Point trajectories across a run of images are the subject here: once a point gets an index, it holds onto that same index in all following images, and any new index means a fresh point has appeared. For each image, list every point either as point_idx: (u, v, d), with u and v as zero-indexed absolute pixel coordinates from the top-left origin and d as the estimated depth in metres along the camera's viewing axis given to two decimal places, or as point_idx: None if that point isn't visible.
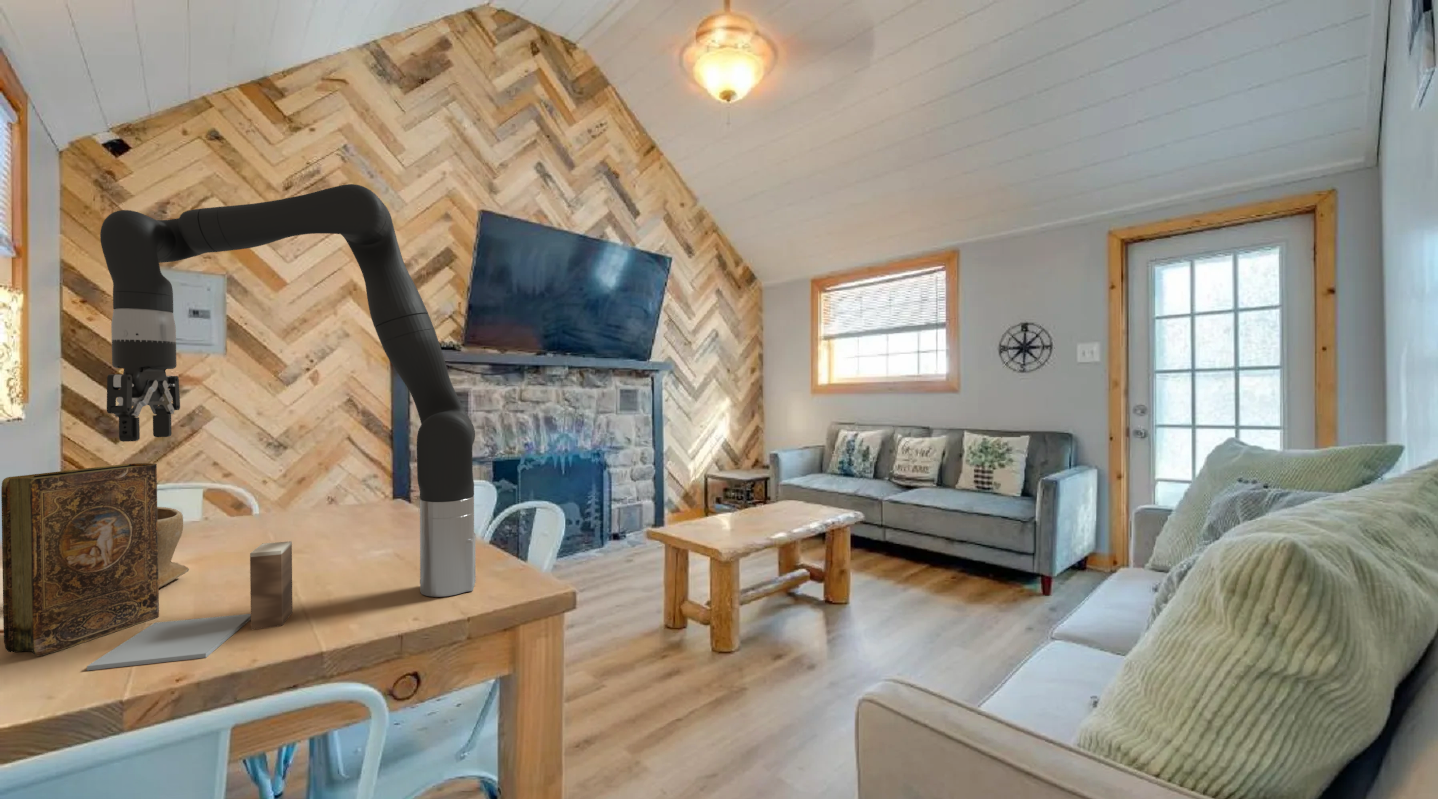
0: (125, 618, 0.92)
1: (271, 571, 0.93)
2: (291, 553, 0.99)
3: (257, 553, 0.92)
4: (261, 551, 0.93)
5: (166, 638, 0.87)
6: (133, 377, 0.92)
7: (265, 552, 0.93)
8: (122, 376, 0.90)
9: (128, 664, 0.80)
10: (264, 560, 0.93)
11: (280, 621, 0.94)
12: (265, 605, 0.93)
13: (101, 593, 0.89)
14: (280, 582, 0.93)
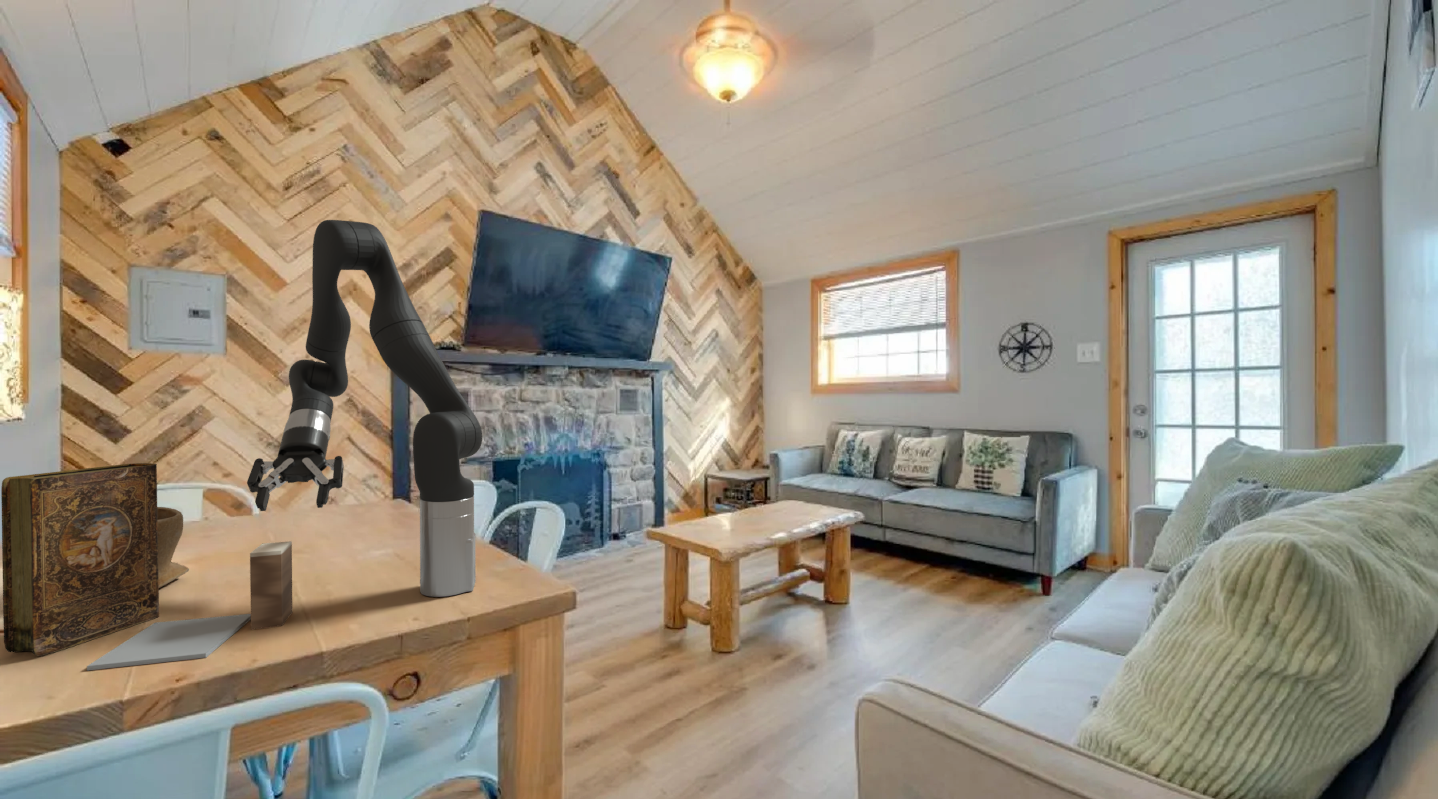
0: (125, 618, 0.92)
1: (271, 571, 0.93)
2: (291, 553, 0.99)
3: (257, 553, 0.92)
4: (261, 551, 0.93)
5: (166, 638, 0.87)
6: (273, 461, 1.10)
7: (265, 552, 0.93)
8: None
9: (128, 664, 0.80)
10: (264, 560, 0.93)
11: (280, 621, 0.94)
12: (265, 605, 0.93)
13: (101, 593, 0.89)
14: (280, 582, 0.93)
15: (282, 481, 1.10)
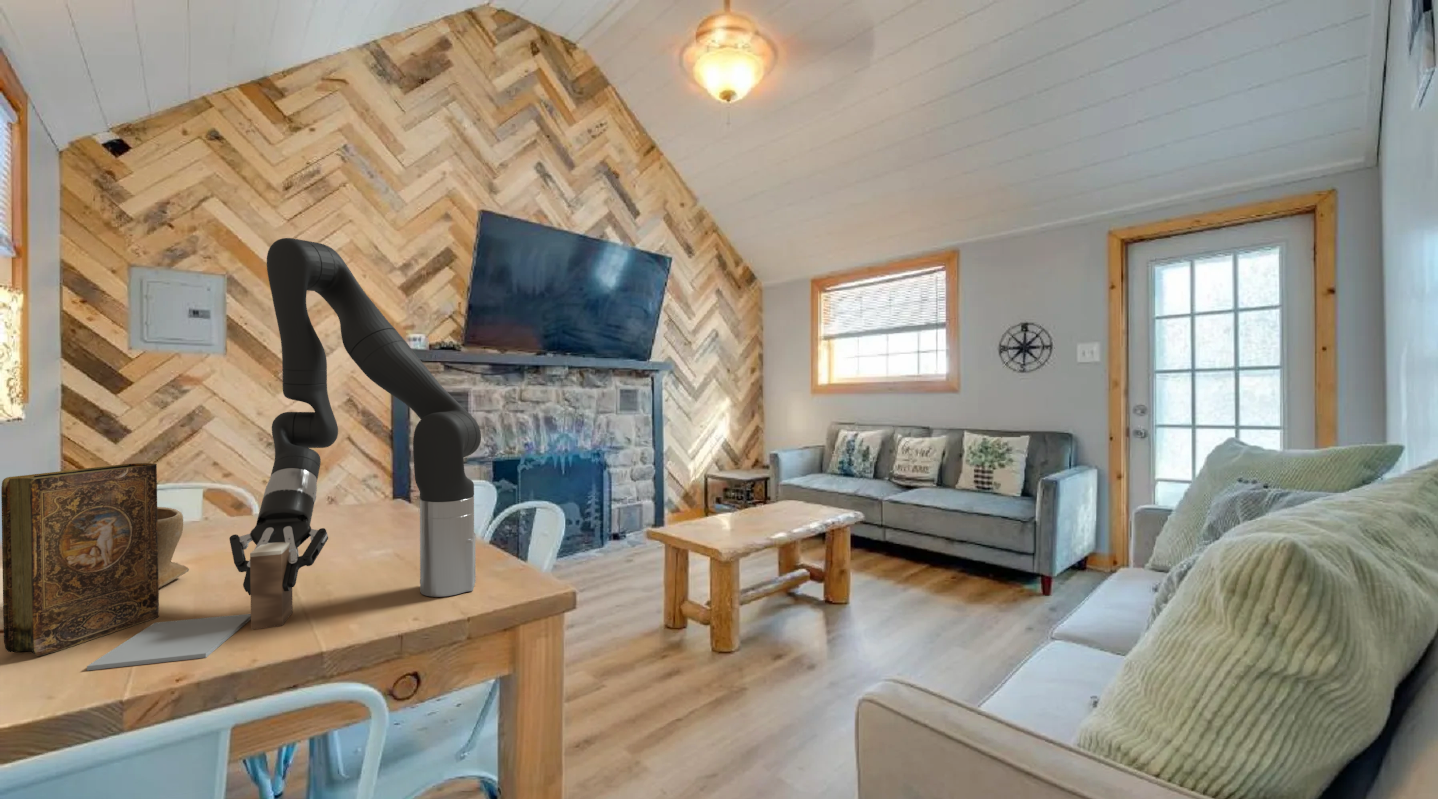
0: (125, 618, 0.92)
1: (271, 571, 0.93)
2: None
3: (257, 553, 0.92)
4: (261, 551, 0.93)
5: (166, 638, 0.87)
6: (250, 533, 0.98)
7: (265, 552, 0.93)
8: None
9: (128, 664, 0.80)
10: (264, 560, 0.93)
11: (280, 621, 0.94)
12: (265, 605, 0.93)
13: (101, 593, 0.89)
14: (280, 582, 0.93)
15: None
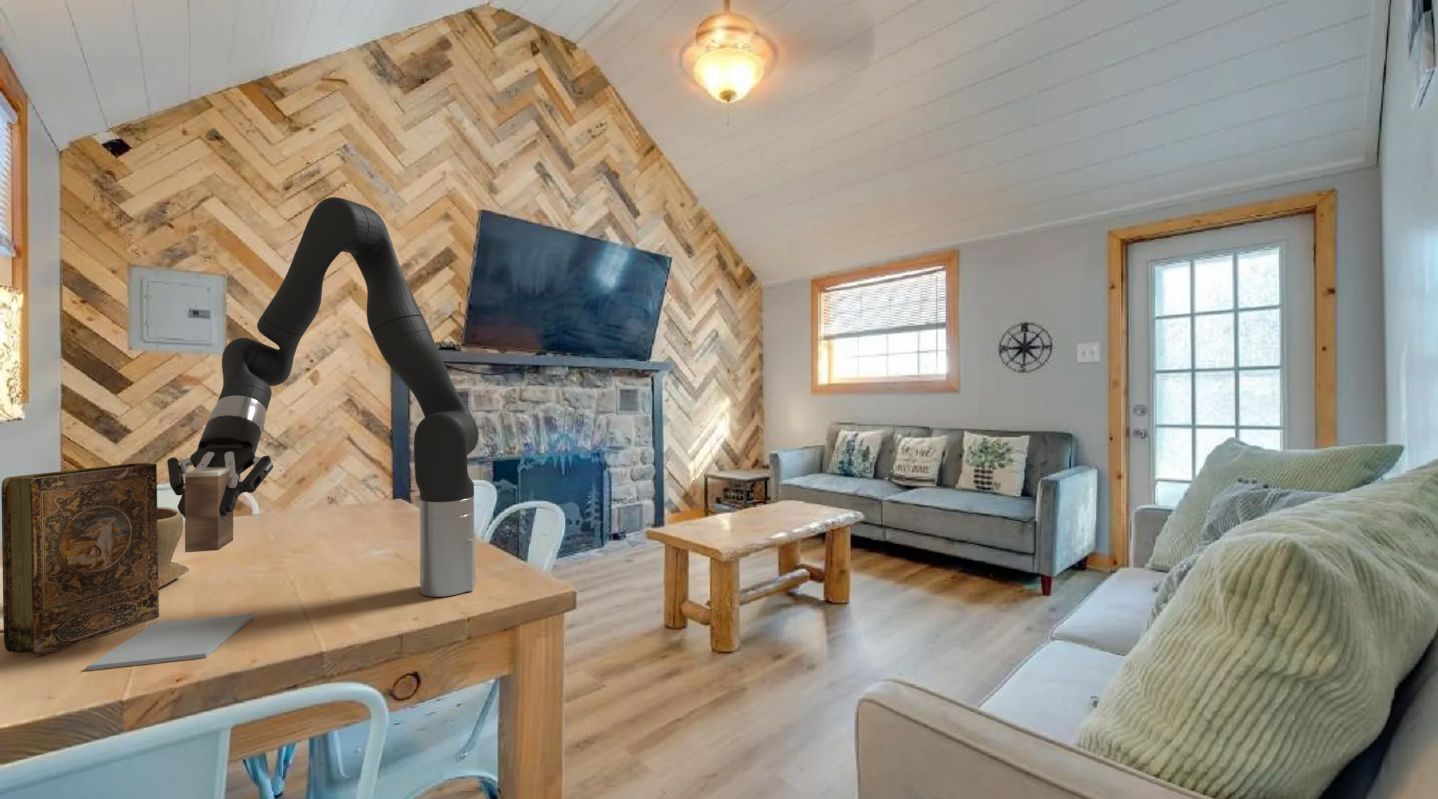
0: (125, 618, 0.92)
1: (207, 493, 0.90)
2: None
3: (192, 473, 0.89)
4: (197, 472, 0.90)
5: (166, 638, 0.87)
6: (190, 457, 0.95)
7: (201, 473, 0.89)
8: None
9: (128, 664, 0.80)
10: (200, 481, 0.89)
11: (216, 545, 0.90)
12: (200, 528, 0.90)
13: (101, 593, 0.89)
14: (217, 505, 0.90)
15: None
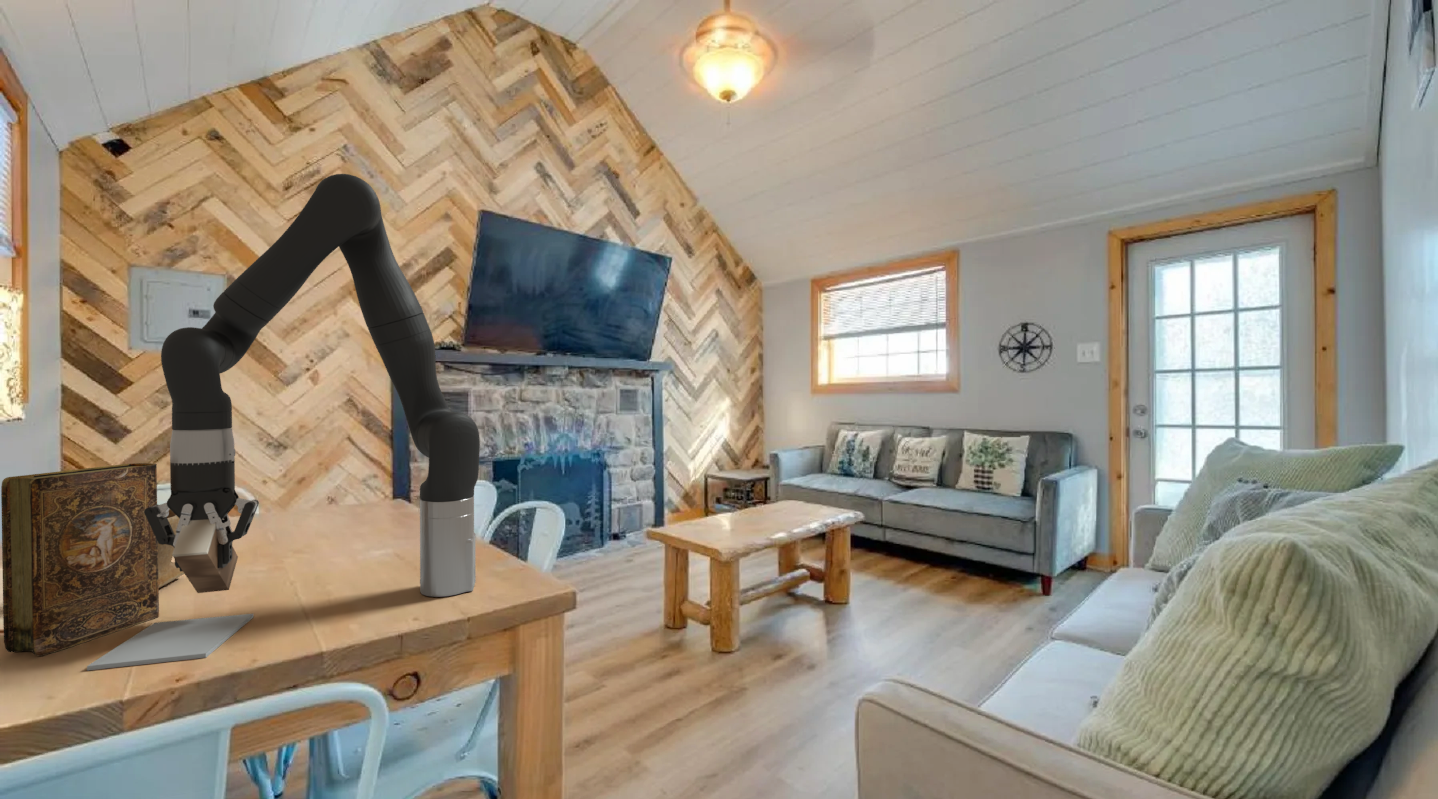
0: (125, 618, 0.92)
1: (201, 563, 0.89)
2: None
3: (180, 554, 0.87)
4: (184, 550, 0.87)
5: (166, 638, 0.87)
6: (167, 503, 0.90)
7: (189, 553, 0.87)
8: None
9: (128, 664, 0.80)
10: (190, 558, 0.88)
11: (226, 587, 0.95)
12: (205, 581, 0.93)
13: (101, 593, 0.89)
14: (215, 568, 0.91)
15: None
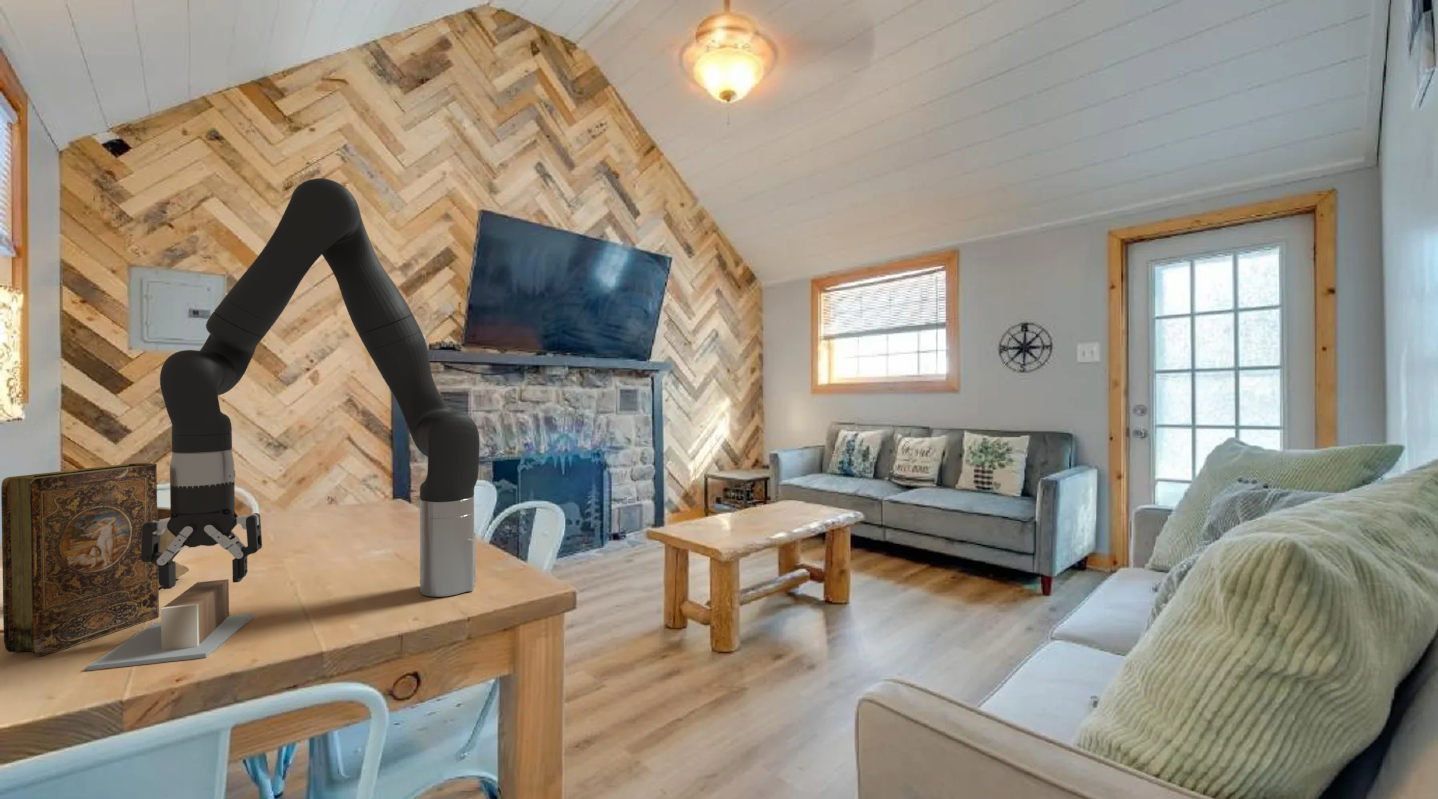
0: (125, 618, 0.92)
1: None
2: (202, 602, 0.86)
3: (170, 649, 0.84)
4: (173, 645, 0.84)
5: None
6: (167, 523, 0.90)
7: (179, 647, 0.84)
8: None
9: (128, 664, 0.80)
10: None
11: None
12: None
13: (101, 593, 0.89)
14: (210, 632, 0.89)
15: None
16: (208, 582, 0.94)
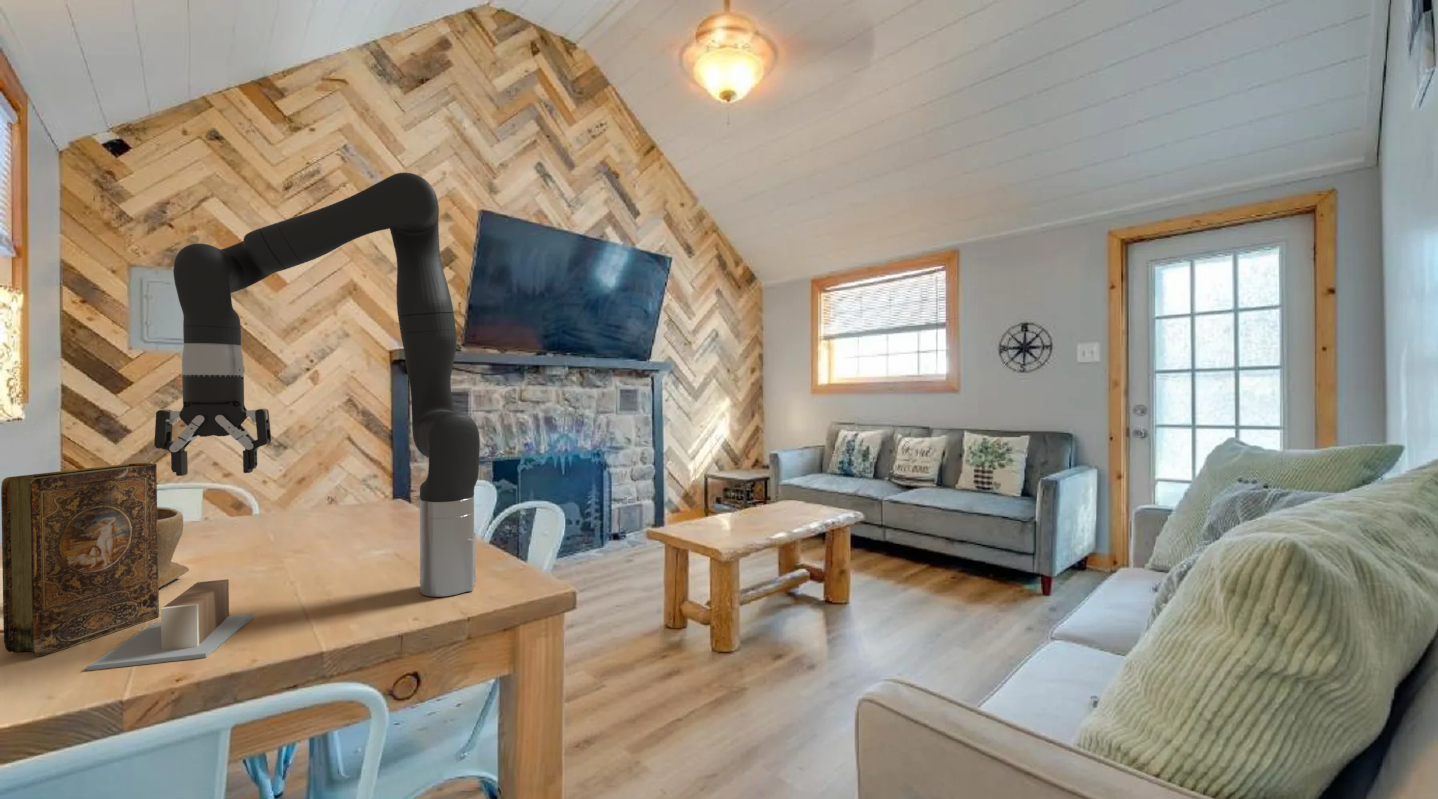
0: (125, 618, 0.92)
1: None
2: (202, 602, 0.86)
3: (170, 649, 0.84)
4: (173, 645, 0.84)
5: None
6: (179, 412, 0.93)
7: (179, 647, 0.84)
8: None
9: (128, 664, 0.80)
10: None
11: None
12: None
13: (101, 593, 0.89)
14: (210, 632, 0.89)
15: None
16: (208, 582, 0.94)
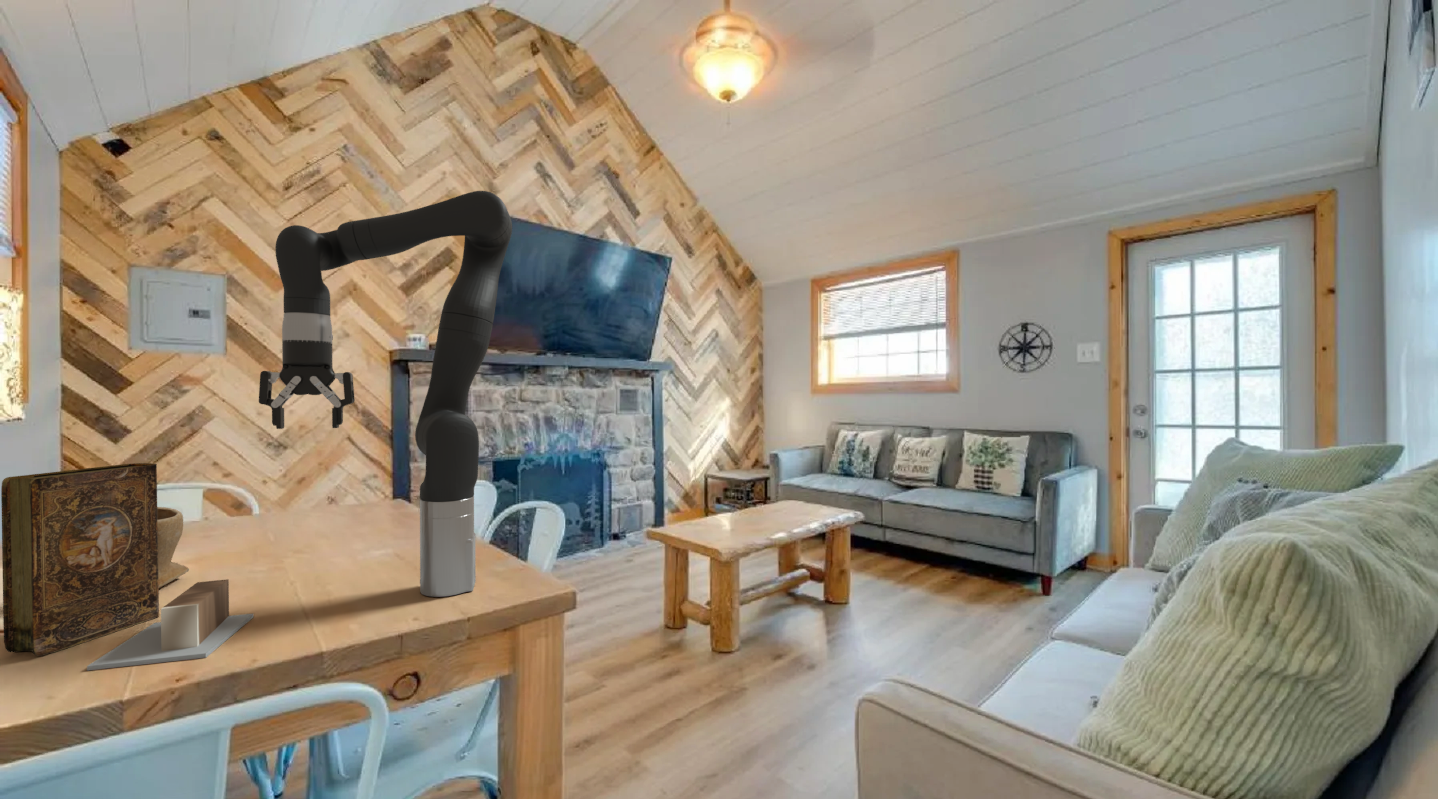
0: (125, 618, 0.92)
1: None
2: (202, 602, 0.86)
3: (170, 649, 0.84)
4: (173, 645, 0.84)
5: None
6: (279, 373, 1.06)
7: (179, 647, 0.84)
8: None
9: (128, 664, 0.80)
10: None
11: None
12: None
13: (101, 593, 0.89)
14: (210, 632, 0.89)
15: None
16: (208, 582, 0.94)
